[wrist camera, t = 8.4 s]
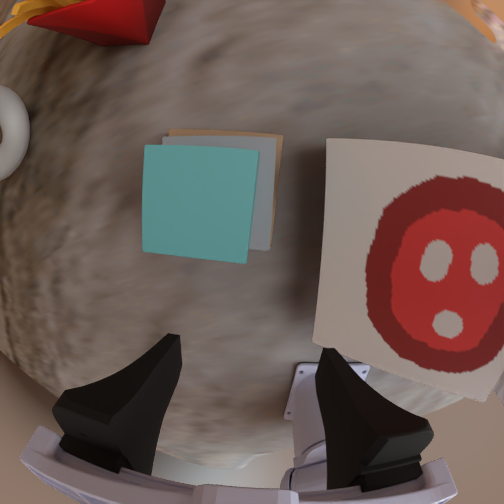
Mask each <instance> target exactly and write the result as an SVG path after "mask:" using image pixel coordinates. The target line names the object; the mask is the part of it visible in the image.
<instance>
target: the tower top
mask: <svg viewBox="0 0 504 504" xmlns="http://www.w3.org/2000/svg"><path fill="white" fill-rule="evenodd" d="M276 143H277V138H270V137H251V136H172V137H162V145H188V146H208V147H224V148H236V149H247V150H257V151H259V152H260V156H259V165H258V174H257V183H256V192H255V202H254V211H253V220H252V229H251V237H250V243H249V250H266V251H270V238H271V223H272V209H273V193H274V177H275V160H276Z"/></svg>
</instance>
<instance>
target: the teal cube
mask: <svg viewBox="0 0 504 504" xmlns="http://www.w3.org/2000/svg"><path fill="white" fill-rule="evenodd" d="M259 156H260V152H259V151H257V150H247V149H236V148H224V147H208V146H188V145H145V151H144V166H143V187H142V251H143V252H151V253H159V254H167V255H175V256H183V257H191V258H200V259H208V260H216V261H225V262H234V263H242V264H246V262H247V256H248V249H249V243H250V237H251V229H252V220H253V211H254V202H255V192H256V183H257V174H258V165H259Z"/></svg>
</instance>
